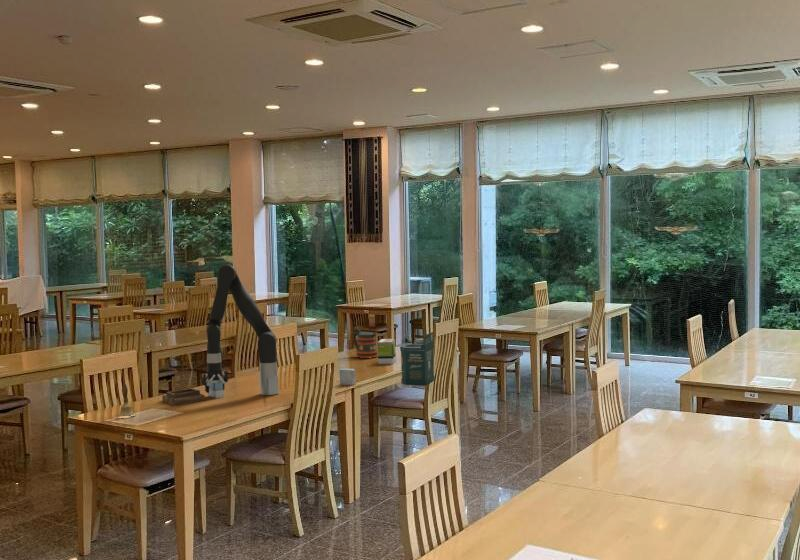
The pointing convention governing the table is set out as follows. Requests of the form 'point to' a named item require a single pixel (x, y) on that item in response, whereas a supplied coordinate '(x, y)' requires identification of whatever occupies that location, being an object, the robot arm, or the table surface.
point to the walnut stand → (183, 396)
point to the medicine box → (347, 377)
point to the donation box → (418, 362)
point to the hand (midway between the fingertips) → (215, 391)
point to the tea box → (386, 351)
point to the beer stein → (365, 344)
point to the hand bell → (125, 403)
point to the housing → (216, 389)
